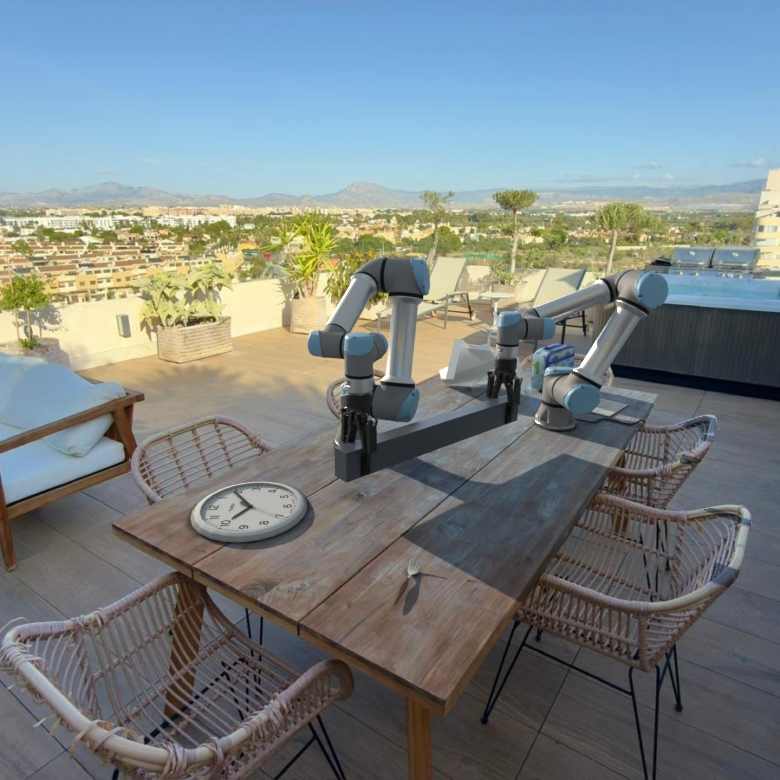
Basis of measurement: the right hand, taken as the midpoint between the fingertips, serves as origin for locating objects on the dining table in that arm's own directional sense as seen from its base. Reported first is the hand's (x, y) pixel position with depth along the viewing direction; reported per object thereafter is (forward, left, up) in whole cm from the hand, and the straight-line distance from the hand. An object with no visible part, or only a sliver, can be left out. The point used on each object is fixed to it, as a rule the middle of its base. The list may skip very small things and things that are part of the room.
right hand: (500, 420), depth 187 cm
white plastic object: (+5, -57, -8) cm, 57 cm away
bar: (+22, +24, -1) cm, 32 cm away
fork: (+26, +84, -8) cm, 89 cm away
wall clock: (+70, +60, -8) cm, 93 cm away
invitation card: (-47, -45, -8) cm, 65 cm away
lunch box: (-30, -70, -8) cm, 76 cm away
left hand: (+43, +48, 0) cm, 64 cm away
